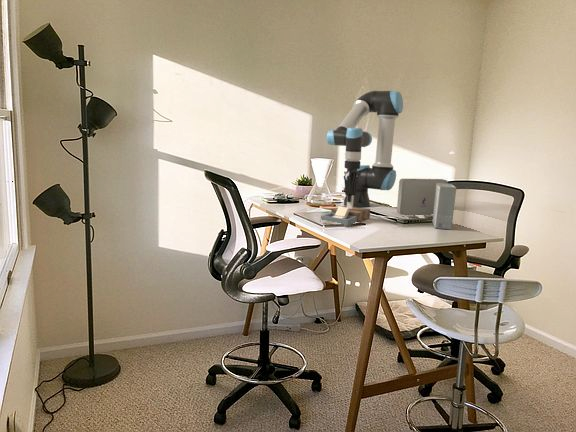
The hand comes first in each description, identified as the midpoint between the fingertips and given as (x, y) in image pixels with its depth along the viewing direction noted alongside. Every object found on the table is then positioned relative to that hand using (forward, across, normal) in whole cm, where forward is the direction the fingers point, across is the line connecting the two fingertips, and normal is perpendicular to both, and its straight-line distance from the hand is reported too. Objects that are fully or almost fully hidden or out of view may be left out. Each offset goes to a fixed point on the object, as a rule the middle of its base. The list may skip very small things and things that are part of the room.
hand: (349, 208), depth 229 cm
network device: (+6, -33, +25) cm, 42 cm away
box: (+6, +11, 0) cm, 13 cm away
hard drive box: (+6, -19, +40) cm, 45 cm away
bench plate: (+6, -2, 0) cm, 6 cm away
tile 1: (+2, +13, 0) cm, 13 cm away
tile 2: (+2, +7, 0) cm, 7 cm away
